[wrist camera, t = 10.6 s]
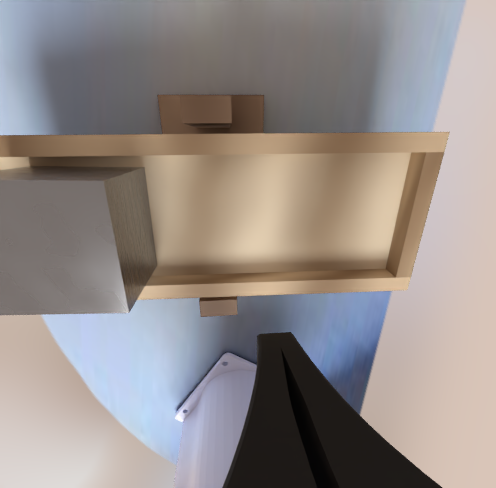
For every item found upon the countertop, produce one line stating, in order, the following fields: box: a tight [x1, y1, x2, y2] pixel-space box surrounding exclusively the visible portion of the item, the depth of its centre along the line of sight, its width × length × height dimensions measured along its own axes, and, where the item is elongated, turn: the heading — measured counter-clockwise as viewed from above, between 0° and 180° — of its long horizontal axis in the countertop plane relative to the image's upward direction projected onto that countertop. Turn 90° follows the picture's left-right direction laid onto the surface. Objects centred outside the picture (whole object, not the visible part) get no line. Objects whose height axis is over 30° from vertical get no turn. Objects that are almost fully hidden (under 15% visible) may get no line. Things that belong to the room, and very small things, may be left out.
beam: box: [0, 132, 449, 300], centre depth 13 cm, size 20×8×2 cm, turn 90°
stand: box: [158, 95, 264, 317], centre depth 15 cm, size 6×12×6 cm, turn 1°
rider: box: [0, 166, 157, 315], centre depth 11 cm, size 5×5×4 cm
